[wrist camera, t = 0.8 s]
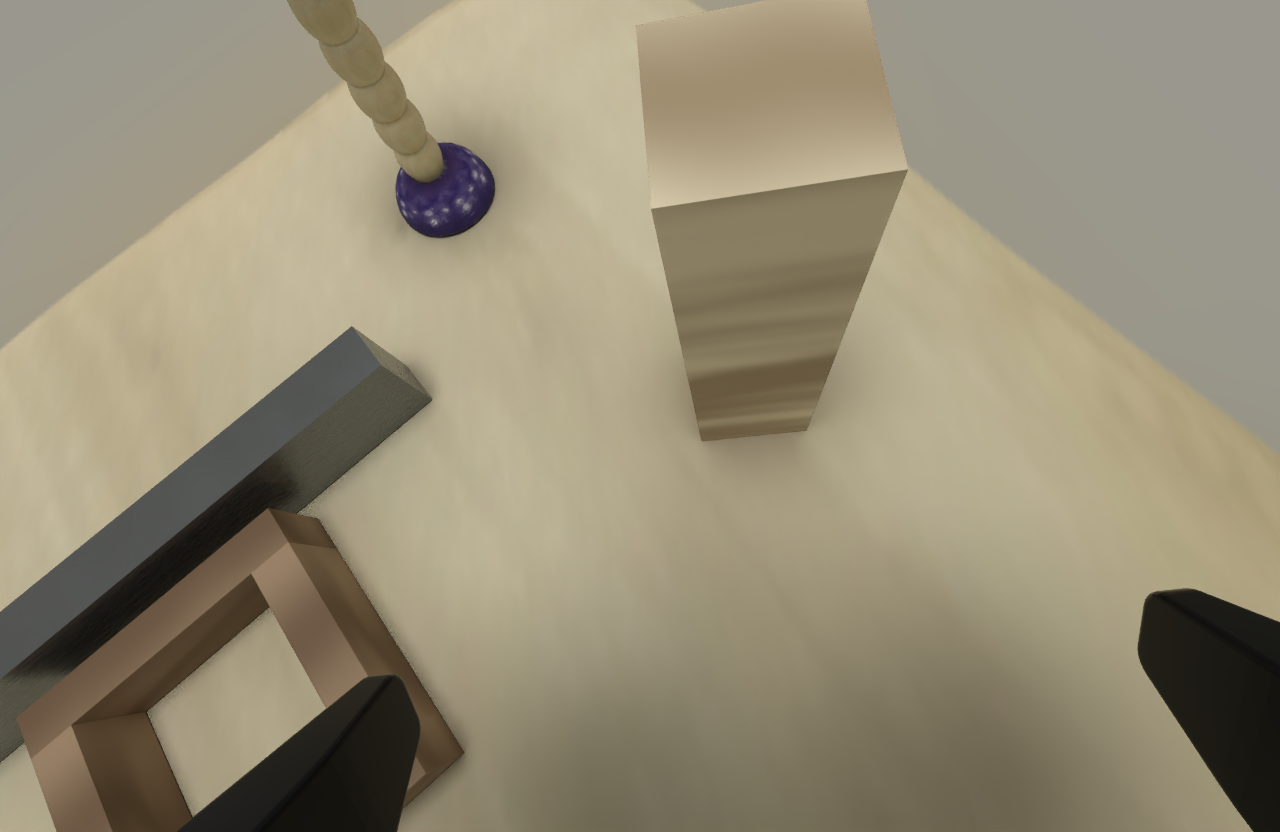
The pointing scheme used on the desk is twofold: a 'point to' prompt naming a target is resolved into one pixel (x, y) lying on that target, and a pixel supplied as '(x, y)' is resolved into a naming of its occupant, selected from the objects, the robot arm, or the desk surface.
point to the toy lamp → (400, 125)
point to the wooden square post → (766, 196)
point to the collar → (184, 639)
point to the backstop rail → (203, 512)
